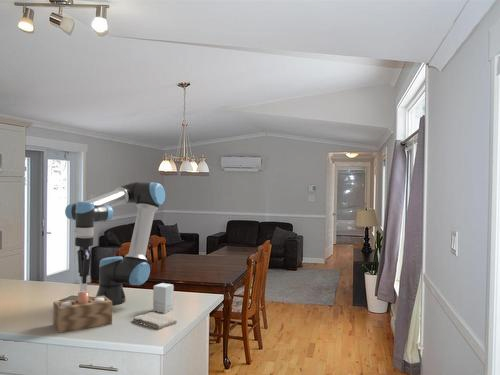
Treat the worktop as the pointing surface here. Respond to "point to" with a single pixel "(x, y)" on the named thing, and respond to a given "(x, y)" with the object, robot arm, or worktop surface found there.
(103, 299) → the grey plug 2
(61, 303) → the grey plug
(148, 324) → the washcloth
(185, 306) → the worktop surface
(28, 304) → the worktop surface
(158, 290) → the supplement box
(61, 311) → the walnut socket block
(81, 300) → the terracotta plug
